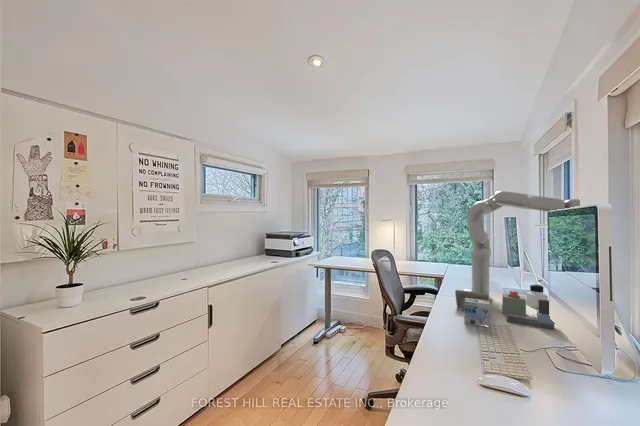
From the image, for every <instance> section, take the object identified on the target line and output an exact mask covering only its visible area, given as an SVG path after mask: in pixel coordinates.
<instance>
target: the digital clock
mask: <svg viewBox="0 0 640 426" xmlns="http://www.w3.org/2000/svg"><path fill="white" fill-rule="evenodd" d="M469 291H470V290H468V291H464V289H463V290H461V289H455V292H454V293H455V302H456V307H457V308H458V309H460V311H461V312H463V313H464V305H465V298H470V299H478V300H487V301H489V300H488V295H487V294H483V293H476V292H469ZM489 302H490V301H489Z"/></svg>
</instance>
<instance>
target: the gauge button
mask: <svg viewBox="0 0 640 426" xmlns="http://www.w3.org/2000/svg"><path fill="white" fill-rule="evenodd" d="M509 294H510V297H514V298H518V295H519V292H518V291H517V290H510V291H509Z"/></svg>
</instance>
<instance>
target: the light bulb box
mask: <svg viewBox="0 0 640 426" xmlns="http://www.w3.org/2000/svg"><path fill="white" fill-rule="evenodd" d="M490 304H491V303H490V301H487V300H478V299H470V298H465V305H464V312H463V313H464V315H463V318H464V319H463V321H464V324H466V325H472V326H477V325H487V326H489V327H490V320H491V319H490V315H491V313H490V312H491V305H490Z"/></svg>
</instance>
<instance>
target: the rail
mask: <svg viewBox="0 0 640 426" xmlns="http://www.w3.org/2000/svg"><path fill="white" fill-rule="evenodd" d="M506 322H507V323H512V324H517V325H524V326H531V327H535V328H542V329H548V330H554V331H555V325H550V324H544V323H538V319H537V317H533V316H527V315H526V316H521V315H515V314H508V313H507V315H506Z"/></svg>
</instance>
